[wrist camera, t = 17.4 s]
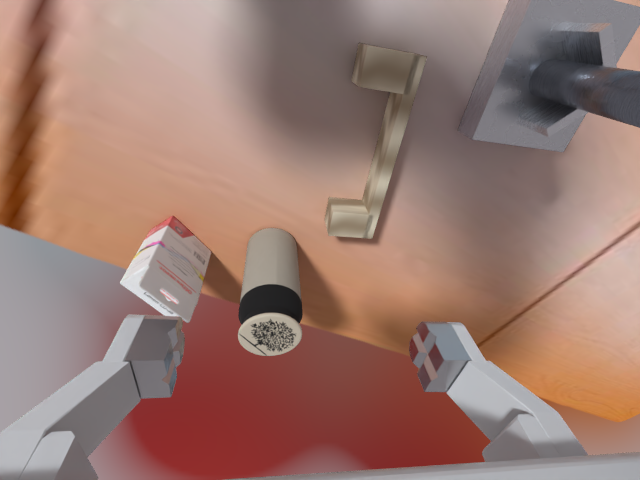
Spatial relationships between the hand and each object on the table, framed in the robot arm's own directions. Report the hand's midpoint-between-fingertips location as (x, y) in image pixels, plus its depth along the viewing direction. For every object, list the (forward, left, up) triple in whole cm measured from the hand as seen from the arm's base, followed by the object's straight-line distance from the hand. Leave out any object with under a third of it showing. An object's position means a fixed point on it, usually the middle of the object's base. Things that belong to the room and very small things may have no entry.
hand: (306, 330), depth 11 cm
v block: (-8, +30, -35) cm, 47 cm away
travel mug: (+22, 0, -35) cm, 42 cm away
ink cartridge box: (+22, -14, -35) cm, 44 cm away
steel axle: (-8, +30, -31) cm, 44 cm away
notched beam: (+4, +11, -35) cm, 37 cm away
